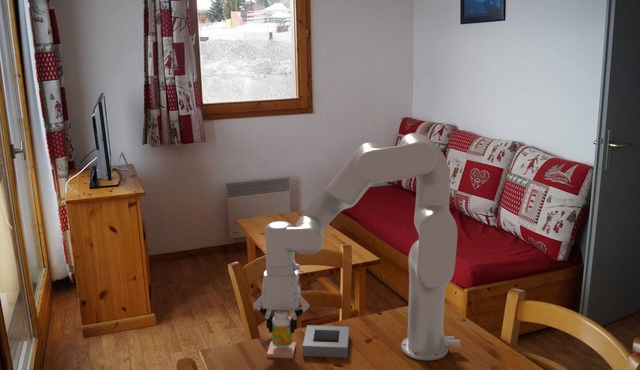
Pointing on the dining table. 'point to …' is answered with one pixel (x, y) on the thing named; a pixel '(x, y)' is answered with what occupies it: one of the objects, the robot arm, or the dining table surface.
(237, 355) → the dining table surface
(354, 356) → the dining table surface
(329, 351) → the frame
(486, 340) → the dining table surface
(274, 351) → the mat
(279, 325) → the supplement bottle
